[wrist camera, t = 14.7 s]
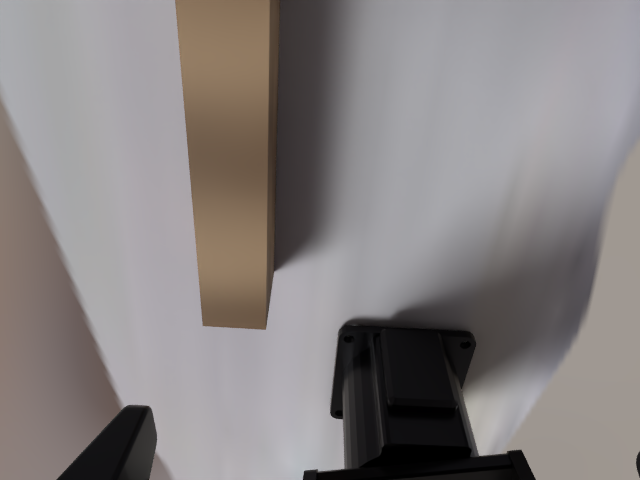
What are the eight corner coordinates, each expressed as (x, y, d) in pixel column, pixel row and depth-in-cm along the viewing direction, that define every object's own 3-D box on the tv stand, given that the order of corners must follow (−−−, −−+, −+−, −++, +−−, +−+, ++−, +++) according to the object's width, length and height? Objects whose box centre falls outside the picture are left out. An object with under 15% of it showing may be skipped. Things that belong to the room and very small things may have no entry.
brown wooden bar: (287, 272, 22) (281, 330, 19) (205, 267, 22) (187, 325, 19) (313, -345, 12) (308, -423, 9) (159, -360, 12) (103, -445, 9)
